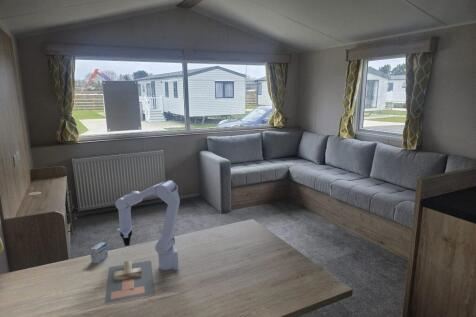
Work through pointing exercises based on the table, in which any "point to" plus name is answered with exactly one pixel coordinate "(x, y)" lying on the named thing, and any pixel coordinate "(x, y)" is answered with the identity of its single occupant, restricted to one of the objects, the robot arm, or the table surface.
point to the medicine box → (98, 252)
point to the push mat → (130, 283)
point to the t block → (127, 272)
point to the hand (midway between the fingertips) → (127, 245)
